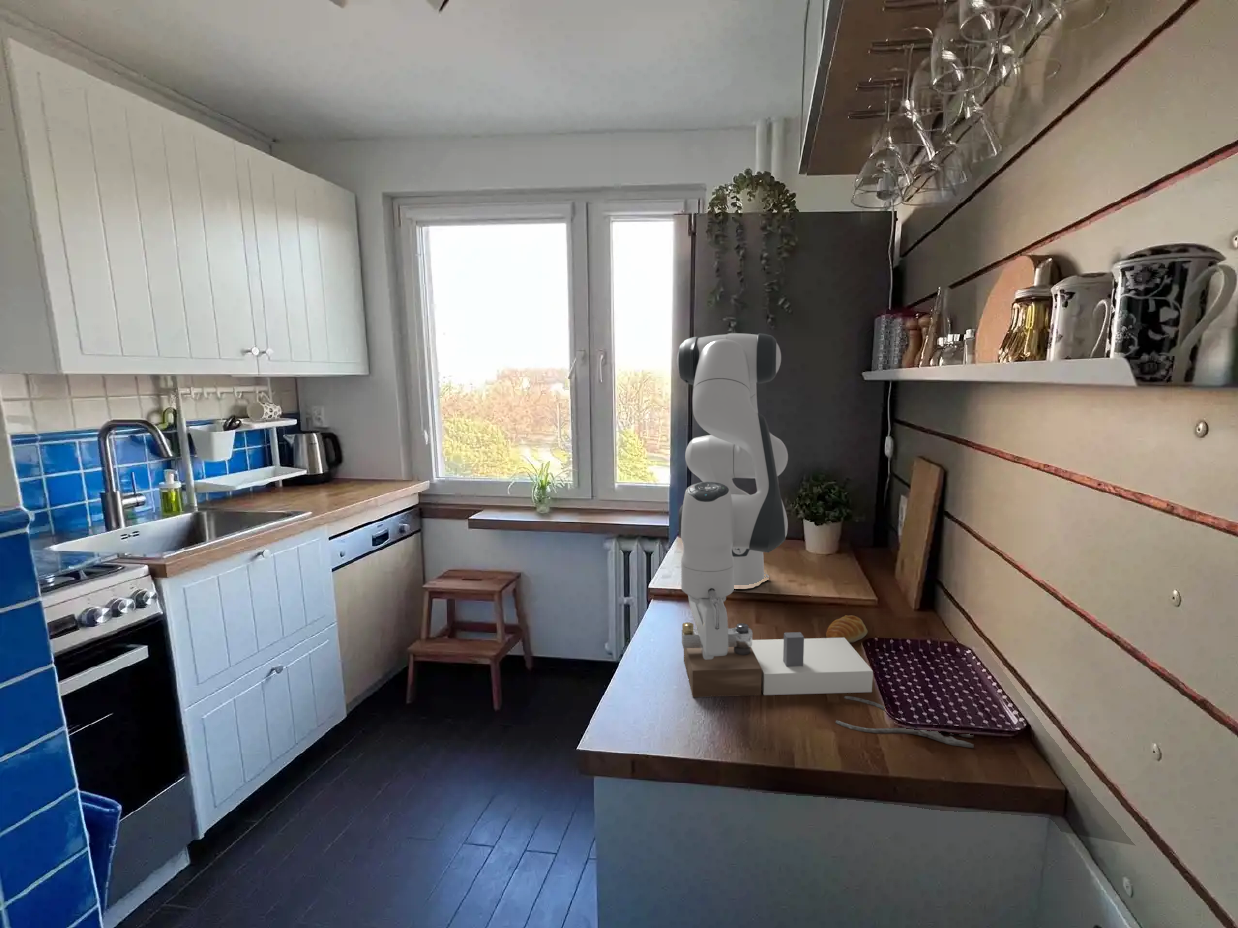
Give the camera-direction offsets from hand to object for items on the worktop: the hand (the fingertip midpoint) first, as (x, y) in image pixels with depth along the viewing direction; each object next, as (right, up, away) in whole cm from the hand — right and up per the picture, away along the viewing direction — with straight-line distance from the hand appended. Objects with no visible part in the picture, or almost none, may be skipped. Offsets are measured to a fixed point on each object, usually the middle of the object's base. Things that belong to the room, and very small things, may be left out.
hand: (707, 655), depth 105 cm
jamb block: (+4, -6, +8) cm, 11 cm away
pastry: (+33, -4, +23) cm, 40 cm away
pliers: (+30, -9, -7) cm, 32 cm away
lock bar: (+3, 0, +7) cm, 7 cm away
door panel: (+20, -6, +8) cm, 22 cm away
